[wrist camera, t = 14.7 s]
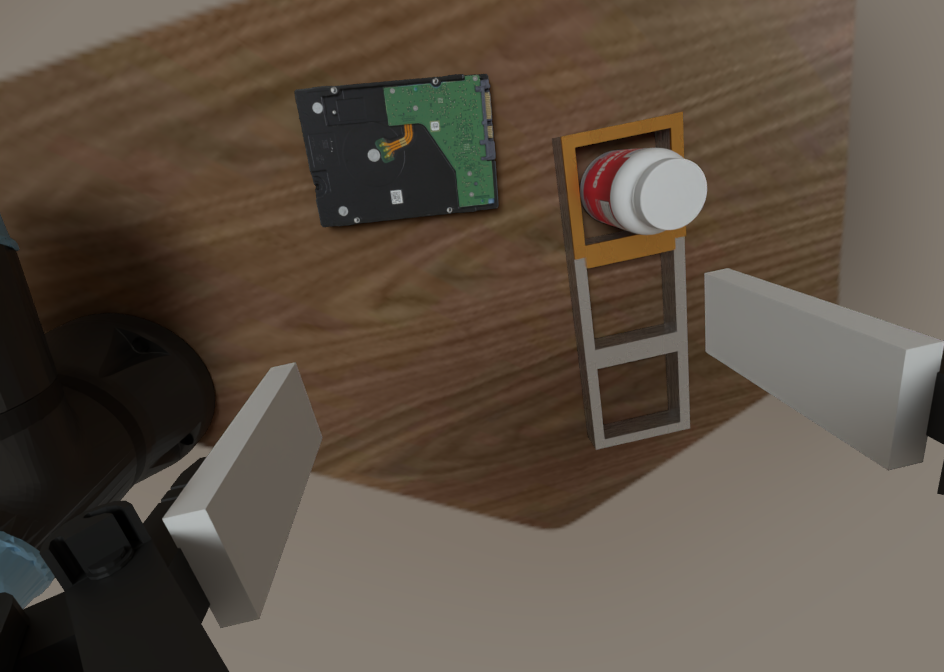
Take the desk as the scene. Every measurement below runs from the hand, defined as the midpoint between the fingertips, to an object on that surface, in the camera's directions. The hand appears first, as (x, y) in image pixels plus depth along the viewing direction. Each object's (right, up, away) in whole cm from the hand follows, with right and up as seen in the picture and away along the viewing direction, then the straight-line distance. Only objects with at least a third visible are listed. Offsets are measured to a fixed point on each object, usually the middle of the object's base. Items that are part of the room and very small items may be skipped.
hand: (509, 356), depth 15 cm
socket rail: (+13, +5, +31) cm, 34 cm away
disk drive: (-7, +16, +25) cm, 30 cm away
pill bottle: (+11, +14, +27) cm, 32 cm away
